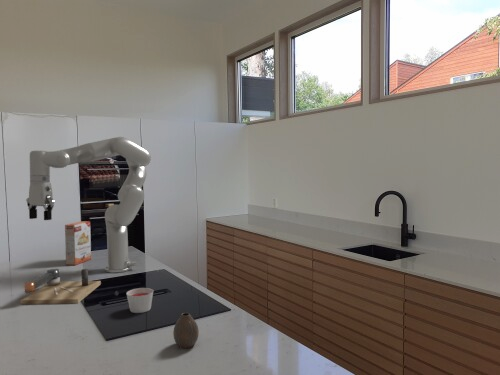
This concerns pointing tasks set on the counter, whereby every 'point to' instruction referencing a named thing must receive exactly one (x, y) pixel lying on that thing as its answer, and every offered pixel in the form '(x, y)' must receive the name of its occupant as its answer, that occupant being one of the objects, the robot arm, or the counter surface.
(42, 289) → the base
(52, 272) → the lever
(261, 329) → the counter surface
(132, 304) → the candle
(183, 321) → the vase
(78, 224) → the cracker box
